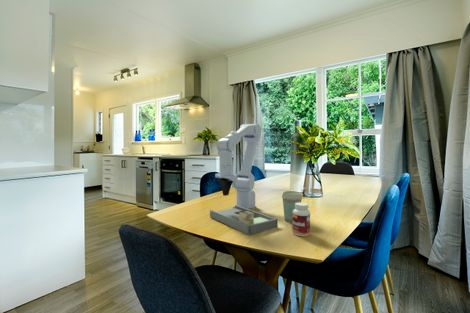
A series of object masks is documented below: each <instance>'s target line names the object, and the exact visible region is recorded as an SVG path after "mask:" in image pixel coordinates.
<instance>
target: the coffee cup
mask: <svg viewBox="0 0 470 313" xmlns="http://www.w3.org/2000/svg"><path fill="white" fill-rule="evenodd" d="M281 198H282V205H283V206H282V207H283V215H284V216H283V217H284V222H287V223H290V224H292V222H293V210H294V209H296V208H295V203H299V202H302V200H303V195H302V192H299V191H293V190H292V191H291V190H290V191H289V190H288V191H283V193H282V195H281Z"/></svg>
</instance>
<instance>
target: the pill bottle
mask: <svg viewBox="0 0 470 313" xmlns="http://www.w3.org/2000/svg"><path fill="white" fill-rule="evenodd" d="M295 208H296V209H294V210H293V222H292V223H291V224H292V230H291V231H292V234H293V235H295V236H298V237H307V236H309V235H310V233H311V232H310V231H311V211H310V210H309V203H307V202H303V201H301V202H299V203H295Z"/></svg>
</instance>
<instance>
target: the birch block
mask: <svg viewBox="0 0 470 313" xmlns="http://www.w3.org/2000/svg"><path fill="white" fill-rule="evenodd" d="M239 221H240V222H242V223H245V224H247V225H250V224H254V213H251V212H248V211H245V212H240V213H239Z"/></svg>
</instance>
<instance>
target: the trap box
mask: <svg viewBox="0 0 470 313" xmlns="http://www.w3.org/2000/svg"><path fill="white" fill-rule="evenodd" d="M234 206H235V207H232V208H228V209H222V210H218V211H216V210H213V209H210V210H209V217H210V218H212V219H213V220H215V221H217V222H220V223H222V224H224V225H226V226H228V227H231V228H233V229H235V230H237V231H238V232H241V233H243V234H245V235H248V236H251V235H254V234H255V235H256V234H258V233H259V234H260V233H262V232H266V231H269V230H272V229H276V228H278V227H279V226H278V220H279V219H278V218H276V217H272V216H270V215H267V214H264V213H261V212H258V211H255V210H252V209H246V208H243V207H240V206H237V204H236V205H234ZM245 211H248V212H251V213H254V224H250V225H247V224H245V223H242V222H240V221H239V213H240V212H245Z"/></svg>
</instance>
